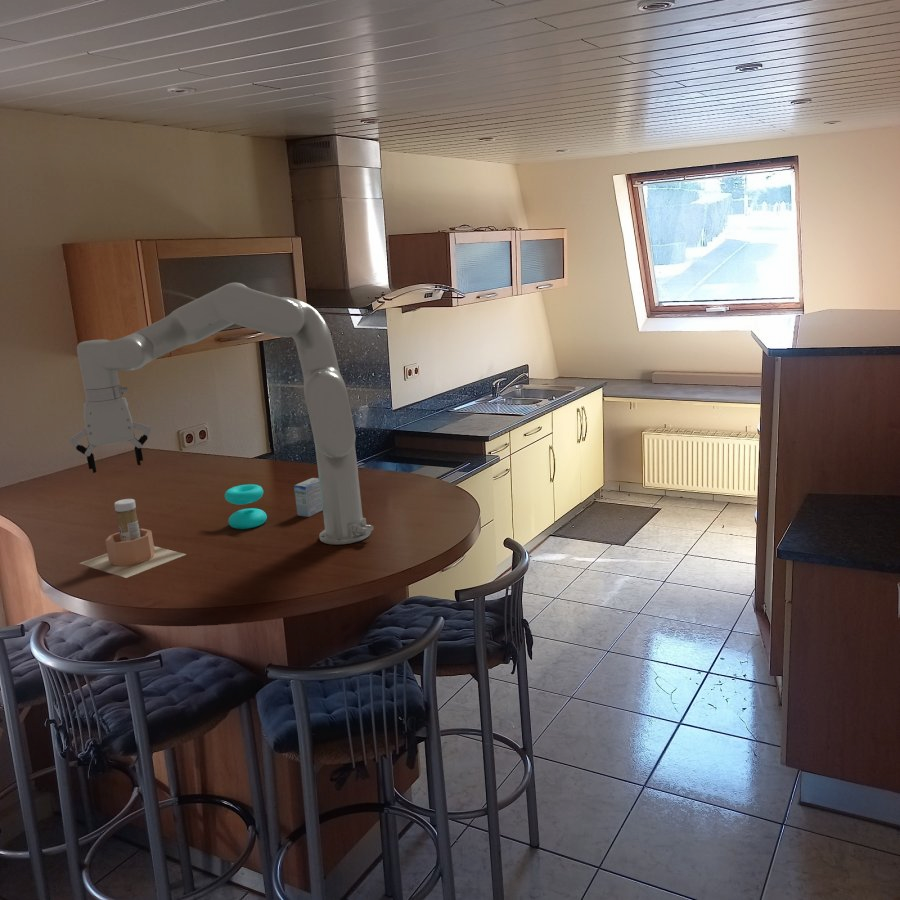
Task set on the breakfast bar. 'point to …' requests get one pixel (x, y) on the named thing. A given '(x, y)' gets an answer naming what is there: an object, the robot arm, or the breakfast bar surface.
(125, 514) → the spice jar
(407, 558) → the breakfast bar surface
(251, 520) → the donuts
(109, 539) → the terracotta octagonal bowl
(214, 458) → the breakfast bar surface
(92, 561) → the birch board
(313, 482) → the medicine box
